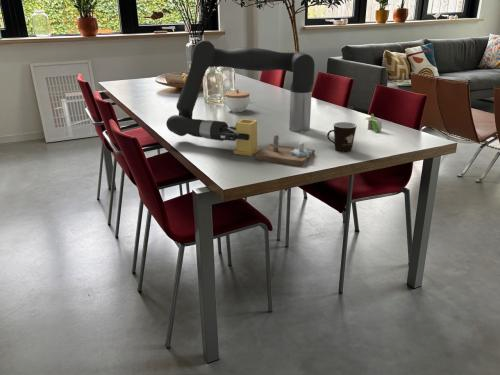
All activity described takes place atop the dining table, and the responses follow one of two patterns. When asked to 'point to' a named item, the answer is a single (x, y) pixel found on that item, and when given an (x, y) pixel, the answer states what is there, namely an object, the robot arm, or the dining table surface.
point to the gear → (301, 151)
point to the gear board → (282, 154)
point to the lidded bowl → (237, 100)
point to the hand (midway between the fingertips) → (252, 135)
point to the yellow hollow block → (249, 145)
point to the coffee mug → (343, 136)
